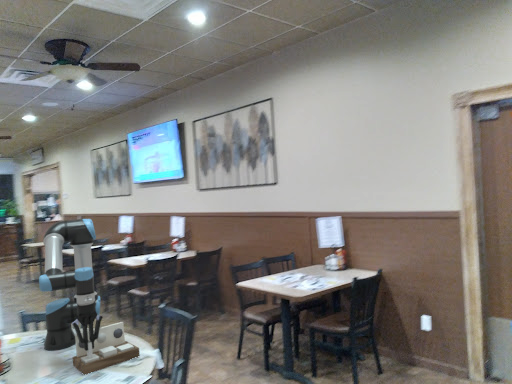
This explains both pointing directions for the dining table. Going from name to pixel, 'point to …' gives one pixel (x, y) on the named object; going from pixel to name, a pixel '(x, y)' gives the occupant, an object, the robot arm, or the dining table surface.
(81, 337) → the robot arm
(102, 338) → the pattern card
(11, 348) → the dining table surface
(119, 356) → the button board
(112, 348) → the middle button
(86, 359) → the button
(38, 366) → the dining table surface
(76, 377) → the dining table surface
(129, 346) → the button
